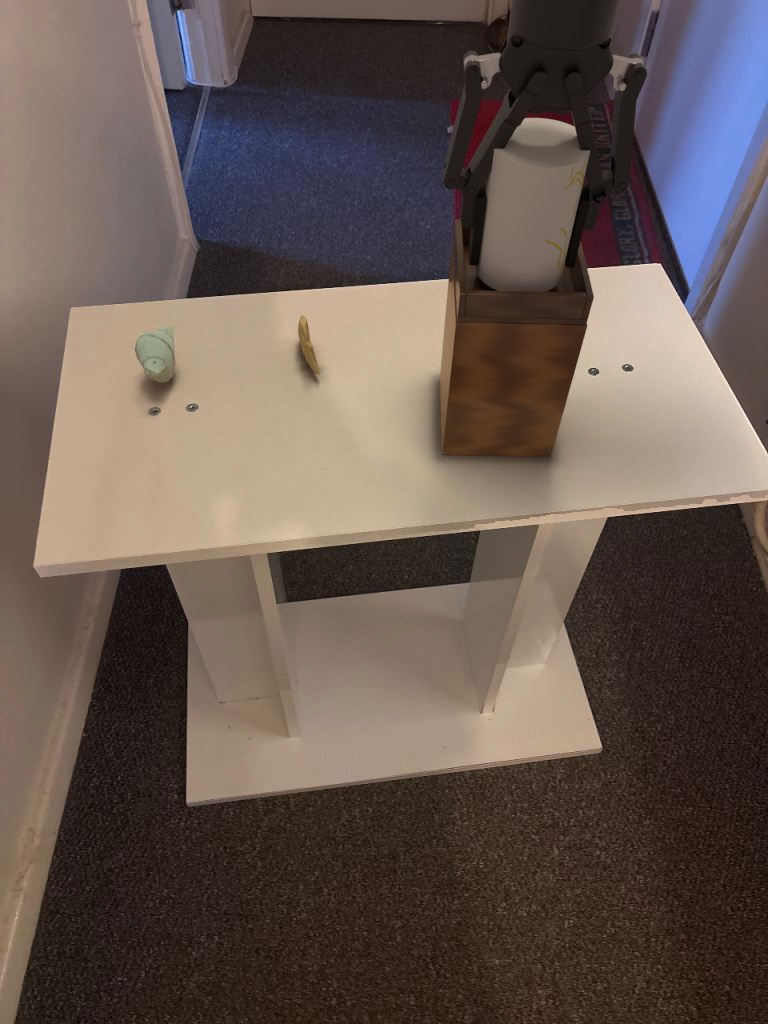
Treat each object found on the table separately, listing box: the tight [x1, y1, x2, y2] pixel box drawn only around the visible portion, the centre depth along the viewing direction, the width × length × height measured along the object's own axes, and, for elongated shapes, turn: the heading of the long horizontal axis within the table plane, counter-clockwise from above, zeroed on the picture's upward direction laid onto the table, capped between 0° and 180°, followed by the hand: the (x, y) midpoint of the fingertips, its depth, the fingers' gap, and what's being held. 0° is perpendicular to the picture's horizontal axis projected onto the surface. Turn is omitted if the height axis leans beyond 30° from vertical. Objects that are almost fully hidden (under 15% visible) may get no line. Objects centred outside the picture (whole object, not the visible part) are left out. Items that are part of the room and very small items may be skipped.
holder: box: [452, 218, 595, 325], centre depth 71 cm, size 12×12×3 cm
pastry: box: [297, 315, 321, 376], centre depth 90 cm, size 9×2×5 cm, turn 17°
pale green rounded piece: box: [134, 326, 176, 384], centre depth 87 cm, size 8×4×7 cm, turn 177°
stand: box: [439, 246, 588, 458], centre depth 79 cm, size 12×12×18 cm
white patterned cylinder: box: [475, 117, 590, 292], centre depth 66 cm, size 8×8×12 cm
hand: (520, 257), depth 70 cm, fingers closed on white patterned cylinder, 8 cm apart
